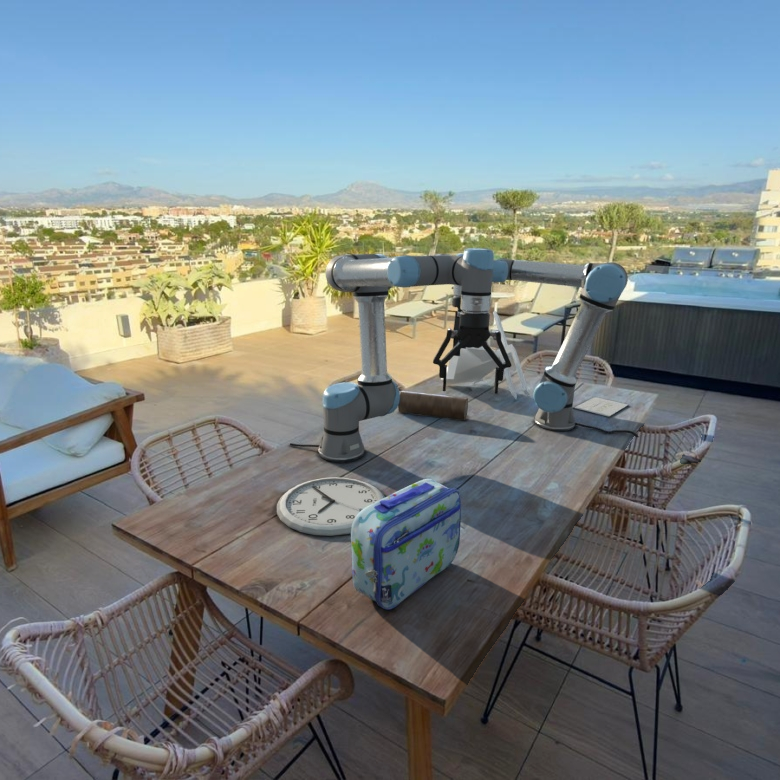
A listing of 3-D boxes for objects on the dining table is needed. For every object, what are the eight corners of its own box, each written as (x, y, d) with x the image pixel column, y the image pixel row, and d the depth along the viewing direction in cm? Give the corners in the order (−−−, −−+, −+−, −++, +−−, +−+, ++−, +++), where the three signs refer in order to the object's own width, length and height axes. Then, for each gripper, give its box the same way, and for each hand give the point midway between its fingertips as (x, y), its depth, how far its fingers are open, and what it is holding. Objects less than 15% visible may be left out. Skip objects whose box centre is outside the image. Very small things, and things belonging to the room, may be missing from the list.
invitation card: (608, 416, 214) (573, 407, 224) (608, 416, 214) (573, 408, 224) (628, 404, 229) (594, 396, 238) (628, 405, 229) (594, 397, 238)
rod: (467, 416, 212) (468, 395, 210) (463, 423, 204) (465, 402, 201) (403, 408, 220) (404, 388, 217) (397, 415, 212) (398, 394, 209)
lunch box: (380, 623, 100) (381, 528, 94) (344, 596, 108) (343, 505, 101) (464, 565, 118) (470, 482, 112) (428, 545, 125) (432, 466, 119)
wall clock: (392, 527, 129) (268, 531, 127) (391, 533, 130) (269, 537, 127) (383, 473, 158) (282, 475, 155) (383, 478, 158) (282, 480, 156)
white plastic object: (461, 429, 252) (437, 405, 227) (444, 352, 274) (420, 323, 250) (535, 404, 240) (518, 377, 215) (510, 326, 262) (492, 293, 237)
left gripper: (425, 311, 131) (422, 392, 137) (527, 315, 128) (519, 397, 134) (426, 307, 138) (423, 384, 144) (523, 310, 135) (516, 389, 142)
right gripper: (458, 292, 207) (455, 344, 214) (446, 299, 184) (443, 358, 191) (477, 293, 205) (473, 346, 212) (467, 301, 182) (463, 360, 189)
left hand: (469, 391), depth 139 cm, fingers open, 13 cm apart
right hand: (459, 351), depth 201 cm, fingers open, 13 cm apart
